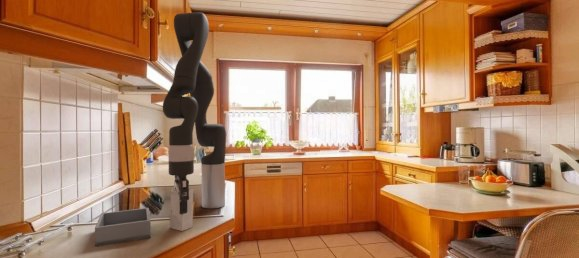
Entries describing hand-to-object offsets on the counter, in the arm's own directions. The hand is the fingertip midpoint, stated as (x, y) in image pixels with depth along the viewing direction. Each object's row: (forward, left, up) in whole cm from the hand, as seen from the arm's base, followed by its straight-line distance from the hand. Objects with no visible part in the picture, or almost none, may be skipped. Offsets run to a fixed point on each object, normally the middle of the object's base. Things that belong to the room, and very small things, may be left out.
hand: (181, 210), depth 95 cm
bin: (-3, -16, -6) cm, 17 cm away
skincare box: (0, 0, -6) cm, 6 cm away
